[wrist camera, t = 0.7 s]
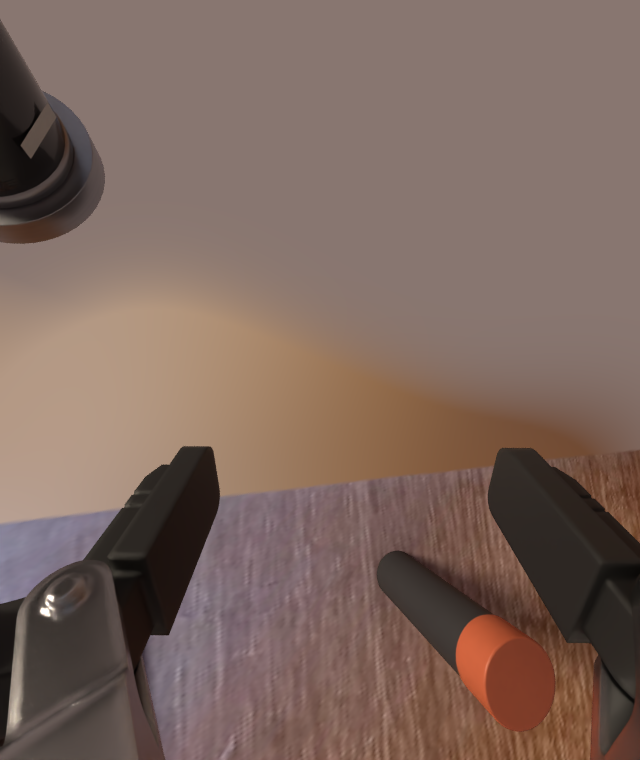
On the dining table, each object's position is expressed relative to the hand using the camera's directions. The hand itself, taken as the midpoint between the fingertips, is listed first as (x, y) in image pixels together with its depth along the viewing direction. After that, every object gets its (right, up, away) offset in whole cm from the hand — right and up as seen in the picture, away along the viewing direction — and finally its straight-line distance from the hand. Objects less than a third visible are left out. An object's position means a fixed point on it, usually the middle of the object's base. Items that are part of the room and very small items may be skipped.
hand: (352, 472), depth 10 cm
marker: (+5, -12, +16) cm, 20 cm away
